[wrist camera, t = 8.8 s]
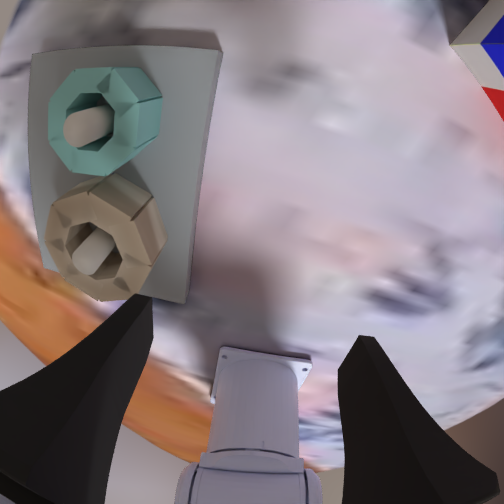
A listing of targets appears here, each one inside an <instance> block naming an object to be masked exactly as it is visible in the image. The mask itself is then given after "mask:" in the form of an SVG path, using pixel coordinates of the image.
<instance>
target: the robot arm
mask: <svg viewBox="0 0 504 504" xmlns="http://www.w3.org/2000/svg"><path fill="white" fill-rule="evenodd" d="M152 341H153V311H152V297H149V296H145V295H141V294H136V293H135V294H134V295H132V296H131V297H130V298H129V299H128V300H127V301H126V302H125V303H124V304H123V305H122V306H121V307H120V308H118V309H117V310H116V311H115V312H114V313H113V314H112V315H111V316H110V317H109V318H108V319H107V320H105V321H104V322H103V323H102V324H101V325H100V326H99V327H97V328H96V329H95V330H94V331H93V332H92V333H91V334H89V335H88V336H87V337H86V338H84V339H83V340H82V341H81V342H79V343H78V344H77V345H76V346H74V347H73V348H72V349H71V350H69V351H68V352H67V353H65V354H64V355H62V356H61V357H60V358H58V359H57V360H55V361H54V362H52V363H51V364H49V365H48V366H46V367H45V368H43V369H41V370H40V371H38V372H36V373H35V374H33V375H31V376H29V377H28V378H26V379H24V380H22V381H20V382H18V383H16V384H14V385H12V386H10V387H8V388H6V389H4V390H1V391H0V504H104V503H105V496H106V489H107V482H108V477H109V472H110V467H111V462H112V458H113V453H114V449H115V445H116V441H117V437H118V433H119V430H120V426H121V422H122V420H123V417H124V414H125V411H126V409H127V406H128V404H129V402H130V399H131V397H132V394H133V392H134V390H135V387H136V385H137V383H138V380H139V378H140V376H141V373H142V371H143V368H144V366H145V364H146V361H147V358H148V354H149V351H150V348H151V344H152ZM225 355H226V356H225ZM311 368H312V361H311V360H307V359H299V358H292V357H285V356H278V355H272V354H265V353H259V352H253V351H248V350H242V349H236V348H231V347H222V348H220V352H219V357H218V362H217V368H216V373H215V378H214V384H213V389H212V394H211V400H210V402H211V403H213V404H215V405H214V411H213V417H212V423H211V429H210V435H209V441H208V447H207V453H204V452H202V453H201V457H200V463H198V462H192V463H191V464H190V465H189V466H187V467H186V468H184V470H183V471H182V473H181V475H180V477H179V480H178V484H177V489H176V494H175V502H174V504H322V488H321V482H320V479H319V477H318V475H316V474H315V473H314V471H313V470H312V469H304V459H303V458H299V417H298V391H299V389H300V387H301V386H302V384H303V382H304V380H305V379H306V377H307V375H308V373H309V371H310V370H311ZM338 400H339V408H340V416H341V424H342V432H343V441H344V453H345V466H344V469H345V470H344V487H343V498H342V504H483V503H485V502H487V501H489V500H490V499H492V498H494V497H496V496H497V495H499V493H500V489H499V483H498V479H497V475H496V473H495V472H494V471H492V470H491V469H489V468H488V467H486V466H485V465H483V464H482V463H480V462H479V461H477V460H476V459H475V458H473V457H472V456H471V455H470V454H468V453H467V452H466V451H465V450H463V449H462V448H461V447H460V446H459V445H458V444H457V443H456V442H455V441H454V440H453V439H452V438H451V437H450V436H448V435H447V434H446V433H445V431H444V430H443V429H442V428H441V427H440V426H439V425H438V424H437V423H436V422H435V421H434V419H433V418H432V417H431V416H430V415H429V414H428V412H427V411H426V410H425V409H424V407H423V406H422V405H421V404H420V402H419V401H418V400H417V398H416V397H415V396H414V394H413V393H412V391H411V390H410V389H409V387H408V386H407V384H406V383H405V382H404V380H403V379H402V377H401V376H400V374H399V373H398V371H397V370H396V368H395V367H394V365H393V364H392V362H391V361H390V359H389V358H388V356H387V355H386V353H385V352H384V350H383V349H382V347H381V346H380V344H379V343H378V342H377V340H376V339H375V338H374V337H371V336H363V335H359V336H358V338H357V340H356V341H355V343H354V345H353V346H352V348H351V349H350V351H349V353H348V354H347V356H346V358H345V359H344V361H343V362H342V364H341V365H340V367H339V369H338Z"/></svg>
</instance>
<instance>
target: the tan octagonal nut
mask: <svg viewBox="0 0 504 504" xmlns="http://www.w3.org/2000/svg"><path fill="white" fill-rule="evenodd" d="M151 196H152V194H150V193H148V192H147V191H145V190H143V189H142V188H140V187H138V186H137V185H135V184H133V183H132V182H130V181H128V180H127V179H125V178H123V177H122V176H120V175H118V174H117V173H115V174H113V172H112V173H111V174H109V175H108V176H107V175H106V176H100V177H97V178H94V179H91V180H88V181H85V182H82V183H79V184H78V185H77V186H75V187H74V188H72V189H71V190H69V191H68V192H67V193H65V194H64V195H63V196H61V197H60V198H58V199H57V200H56V201H54V202H53V204H51V207H50V211H49V216H48V220H47V225H46V230H45V235H44V240H46V241H45V242H44V243H45V245H46V247H47V249H48V251H49V253H50V255H51V257H52V259H53V261H54V263H55V265H56V267H57V269H58V270H59V272H60V274H61V276H62V277H65V279H64V280H65V281H67V282H68V283H70V284H72V285H73V286H75V287H76V288H78V289H79V290H81V291H82V292H84V293H86V294H87V295H89V296H90V297H92V298H94V299H95V300H97V301H98V299H99V300H100V302H103V301H115V300H127V299H129V298H130V297H131V296H132V295H134V294H135V293H136V294H138V293H139V291H140V289H141V288H142V286H143V284H144V282H145V280H146V278H147V277H148V275H149V273H150V271H151V269H152V268H153V266H154V264H155V262H156V260H157V258H158V257H159V255H160V253H161V251H162V249H163V248H164V246H165V244H166V242H167V240H168V239H167V238H168V235H167V232H166V230H165V227H164V224H163V221H162V218H161V215H160V213H159V210H158V207H157V204H156V201H155V198H151ZM89 222H91V223H93V224H94V225H96V226H97V227H99V228H101V229H102V230H104V231H105V232H107V233H109V234H110V235H112V236H113V239H114V241H115V243H116V245H117V248H118V250H119V252H120V253H114V252H113V251H111V252H110V253H109V255H108V256H107V257H106V258H105V260H104V261H103V262H102V264H101V265H100V266H99V268H98V269H97V270H96V272H95V273H94V274H92V275H86V274H83V273H81V272H80V271H79V270H78V269H77V268H76V267H75V266H74V264H73V261H72V254H73V252H74V251H75V250H76V249H77V248H78V247H79V246H80V245H81V244H82V243H83V242H84V241H85V239H86V238H87V237H88V236H89V235H90V234H91V233H92V232H93V231H92V228H91V226H90V224H89Z"/></svg>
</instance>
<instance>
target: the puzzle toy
mask: <svg viewBox="0 0 504 504" xmlns="http://www.w3.org/2000/svg"><path fill="white" fill-rule="evenodd" d="M450 46H451V48H452V49H453V50H454V51H455V52H456V54H457V55H458V56H459V57H460V59H461V60H462V61H463V62H464V64H465V65H466V66H467V67H468V69H469V70H470V71H471V73H472V74H473V76H474V77H475V78H476V80H477V81H478V82H479V84H480V85H481V87H482V88H483V90H484V91H485V93H486V94H487V96H488V97H489V99H490V100H491V102H492V103H493V105H494V106H495V108H496V109H497V111H498V113H499V114H500V116H501V118H502V119H503V121H504V0H489V2H488V3H487V4H486V5H485V6H484V7H483V8H482V9H481V11H480V12H479V13H478V14H477V15H476V16H475V17H474V18H473V20H472V21H471V22H470V23H469V24H468V25H467V26H466V27H465V29H464V30H463V31H462V32H461V33H460V34H459V35H458V36H457V38H456V39H455V40H454V41H453V42H452V43H451V44H450Z"/></svg>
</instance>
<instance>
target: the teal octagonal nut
mask: <svg viewBox="0 0 504 504" xmlns="http://www.w3.org/2000/svg"><path fill="white" fill-rule="evenodd" d="M102 96H103V97H104V98H105V99H106V100H107V102H108V103H109V104H110V106H111V107H112V108H113V109H114V111H115V116H114V131H113V137H108V136H103V137H101V138H99V139H97V140H95V141H92V142H90V143H88V144H86V145H84V146H82V147H73V146H71V145H70V144H69V143H68V142H67V141H66V139H65V137H64V134H63V126H64V122H65V120H66V119H67V117H68V116H69V115H71V114H72V113H75V112H79V111H82V110H86V109H89V108H93V107H96V106H97V101H98V100H99V99H100V98H101V97H102ZM161 96H162V94H161V93H160V92H159V90H158V89H157V88H156V87H155V85H154V84H153V83H152V82H151V80H150V79H149V78H148V77H147V75H146V74H145V73H144V72H143V70H142V69H141V68H139V67H100V68H81V69H75V70H73V71H72V72H71V73H70V75H69V76H68V77H67V78H66V79H65V80H64V82H63V83H62V84H61V85H60V87H59V88H58V89H57V90H56V92H55V93H54V94H53V96H52V97H51V98H50V99H49V100H50V101H51V102H49V103H48V140H49V141H50V142H49V144H50V145H51V147H52V148H53V149H54V151H55V152H56V153H57V155H58V156H59V157H60V159H61V160H62V161H63V163H64V164H65V165H66V167H67V168H68V169H69V170H70V171H71V170H72V172H73V173H81V174H89V175H97V176H106V175H107V176H108V175H109V174H111V173H112V172H113V171H115V170H116V169H118V168H119V167H121V166H122V165H124V164H125V163H126V162H128V161H129V160H131V159H132V158H134V157H135V156H136V155H137V154H138V153H139V152H140V151H141V150H143V149H144V148H145V147H146V146H147V145H148V144H150V143H151V142H152V141H153V140H154V139H155V138H157V137H158V136H157V135H159V129H160V119H161V110H162V102H163V98H160V97H161Z"/></svg>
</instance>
